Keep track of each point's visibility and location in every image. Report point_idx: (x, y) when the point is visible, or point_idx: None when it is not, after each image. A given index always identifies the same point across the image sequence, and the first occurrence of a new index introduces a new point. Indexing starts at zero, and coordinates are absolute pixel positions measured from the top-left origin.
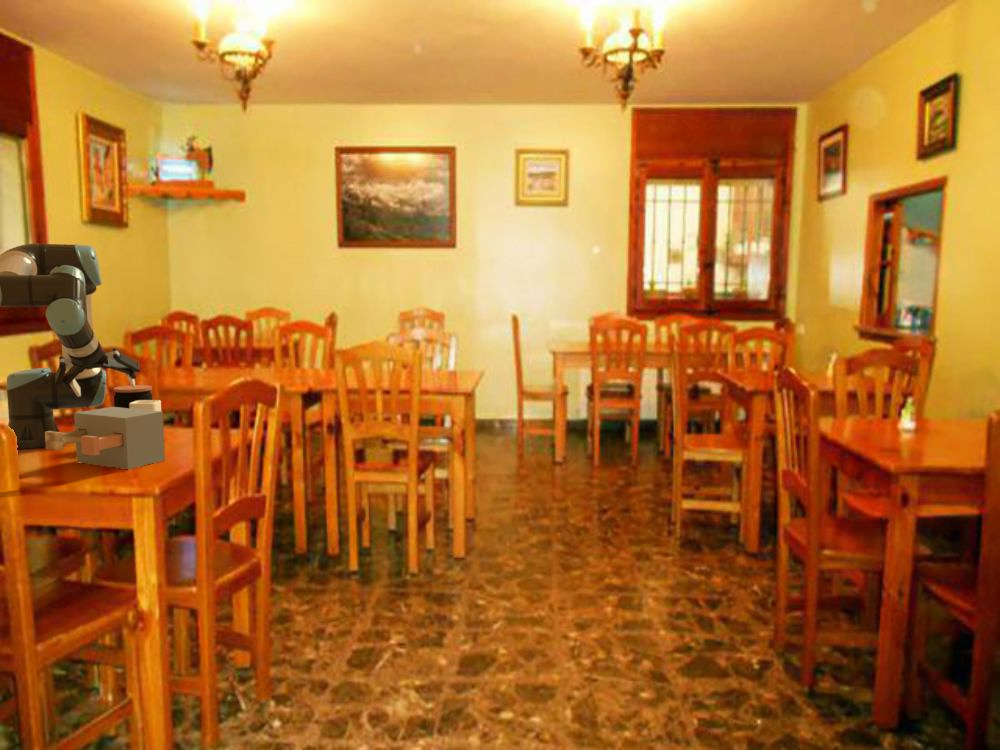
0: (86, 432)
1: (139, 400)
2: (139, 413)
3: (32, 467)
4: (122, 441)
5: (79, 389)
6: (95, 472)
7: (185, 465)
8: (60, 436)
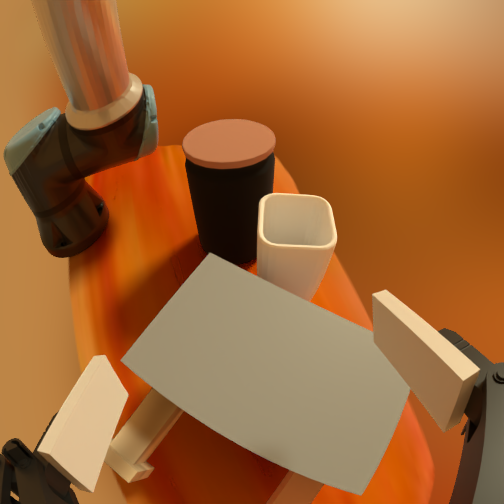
0: None
1: (267, 196)
2: (369, 398)
3: None
4: None
5: (108, 381)
6: (250, 492)
7: (416, 424)
8: (139, 474)
